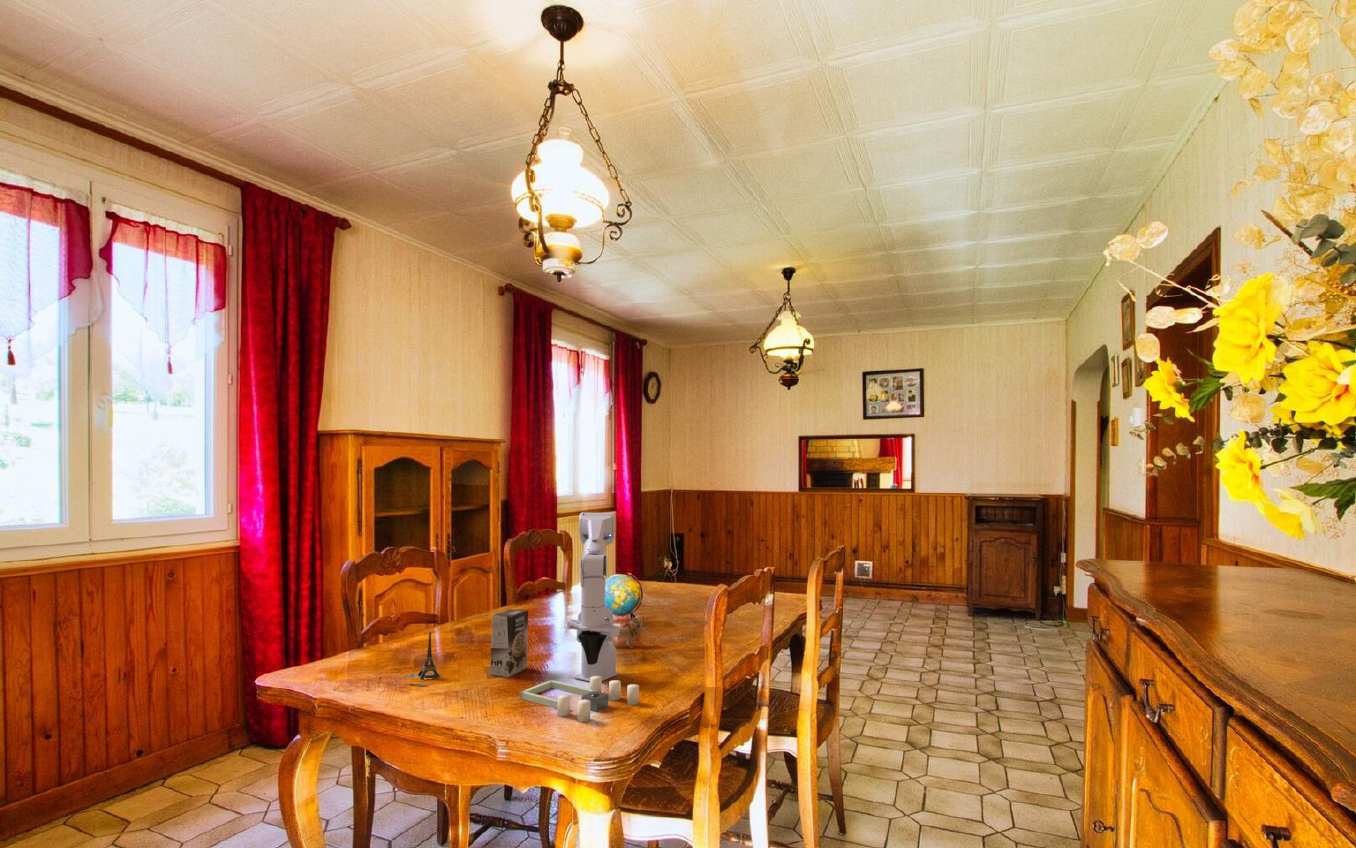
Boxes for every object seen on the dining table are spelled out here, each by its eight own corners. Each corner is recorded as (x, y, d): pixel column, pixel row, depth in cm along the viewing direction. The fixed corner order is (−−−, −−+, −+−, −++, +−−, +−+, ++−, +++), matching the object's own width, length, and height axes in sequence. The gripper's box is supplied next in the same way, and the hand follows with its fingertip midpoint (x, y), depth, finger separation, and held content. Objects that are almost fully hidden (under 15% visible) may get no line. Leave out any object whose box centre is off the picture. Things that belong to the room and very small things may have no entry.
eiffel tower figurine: (428, 668, 185) (430, 620, 186) (460, 671, 182) (461, 622, 183) (392, 685, 170) (394, 632, 171) (425, 689, 168) (427, 635, 169)
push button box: (593, 703, 158) (593, 690, 158) (608, 707, 155) (608, 693, 156) (581, 709, 154) (581, 695, 154) (596, 713, 152) (596, 699, 152)
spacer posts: (594, 691, 165) (595, 675, 166) (641, 702, 158) (641, 685, 158) (546, 713, 151) (547, 695, 151) (595, 726, 143) (595, 707, 143)
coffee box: (509, 677, 176) (511, 616, 177) (489, 675, 178) (490, 614, 179) (528, 668, 184) (529, 609, 185) (508, 665, 186) (509, 608, 187)
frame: (551, 685, 169) (551, 680, 169) (596, 697, 161) (596, 690, 162) (519, 698, 160) (520, 692, 160) (566, 711, 152) (566, 704, 152)
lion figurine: (641, 643, 211) (641, 615, 212) (644, 647, 206) (644, 618, 207) (595, 646, 208) (596, 617, 208) (597, 650, 203) (598, 621, 203)
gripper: (558, 604, 157) (557, 662, 156) (606, 612, 150) (605, 673, 149) (578, 599, 163) (577, 655, 162) (625, 606, 155) (624, 665, 155)
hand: (592, 663), depth 156 cm, fingers closed
